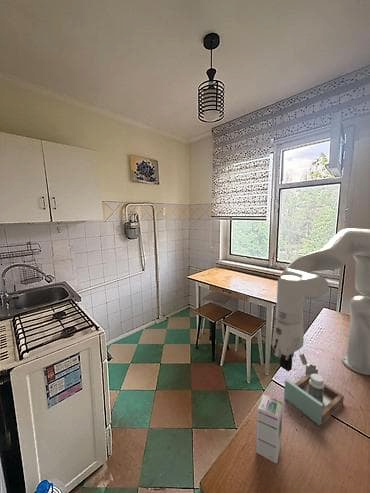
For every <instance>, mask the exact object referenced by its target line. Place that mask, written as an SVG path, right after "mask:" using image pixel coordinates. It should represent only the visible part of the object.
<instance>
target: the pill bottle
mask: <svg viewBox="0 0 370 493" xmlns="http://www.w3.org/2000/svg"><path fill="white" fill-rule="evenodd" d="M323 383H324V377H322V376H321V375H320V374H319V373H318V374H311V377H310V380H309V387H308V394H309V395H311V396H312V397H314V398H315V399H316V400H318V401H319V402H321V403H322V402H323V394H324V384H325V383H324V384H323Z"/></svg>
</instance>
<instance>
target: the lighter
mask: <svg viewBox="0 0 370 493" xmlns="http://www.w3.org/2000/svg"><path fill="white" fill-rule="evenodd" d="M298 356H299V359H300V362H301V363H302V365H304V366H305V376H306V375H308V374H309V375H311V374H318V375H319V367H318V366H317V365H316V364H315V363H312V362H309V363H308V361H307V359H306V356H305V353H303V352H302V353H299V354H298Z"/></svg>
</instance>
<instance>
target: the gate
mask: <svg viewBox="0 0 370 493" xmlns="http://www.w3.org/2000/svg"><path fill="white" fill-rule="evenodd" d="M283 394H284V395H283V398H284V399H286V400H287V401H288V402H289V403H290V404H291V405H293V406H294V407H295V408H296V409H298V410H300V411H301V413H303V414H304V415H306V416H307V417H308V418H309V419H311V420H312V421H313V422H314V423H315V424H316V425H318V426H321V425H322V424H323V423H322V413H323V404H322V403H321V402H319V401H318V400H316V399H315V398H314V397H312V396H311V395H309V394H308V393H306V392H305V391H304V390H302V389H301V388H299V387H298V386H297V385H295V383H294V382H292V381H291V380H289V379H288V378H287V379H285V380H284V392H283ZM321 423H322V424H321Z"/></svg>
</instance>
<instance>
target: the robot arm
mask: <svg viewBox="0 0 370 493" xmlns="http://www.w3.org/2000/svg"><path fill="white" fill-rule="evenodd" d="M352 257H353V258H354V261H355V275H354V276H355V279H354V287H355V291H357V292H358V293H359V294H361V295H355V296H353V297H352V298H351V299H350V301H349V314H350V324H349V333H348V342H347V349H346V350H347V351H346V354H344V355H342V357H341V362H342V363H343V365H344V366H346V368H348V369H350V370H351V371H352V372H355V373H357V374H360V375H363V376H369V375H370V228H351V227H349V228H343V229H341V230H339V231H338V232H337V233H336V234H335V235H334V236H333V237H332V238H331V239H330V240H329V241H328V242H327V243H326V244H325V245H324V246H323V247H322V248H321V249H319V250H315V251H313V252H309V253H307V254H305V255H301V256H299V257H297V258H295V259H294V260H293V261H291V262H290V263H289V264H288V265H287V266H286V267H285V268H284V269H283V271H282V273H281V274H280V276H279V277H278V279H277V289H276V305H275V306H276V307H275V308H276V310H275V322H274V326H273V327H274V328H273V333H272V334H273V335H272V348H273V349H274V350H275V352H274V356H275V357H277V358H279V367H281V368H282V369H283V370H285V371H286V372H290V371H291V370H293V358H294V356H295V352H298V351H299V350H301V349H302V348H303V346H304V341H305V340H304V336H305V328H304V327H305V326H304V320H303V319H304V305H305V304H304V303H305V300H318V299H321V298H323V297H325V296H326V295H327V294H328V291H329V288H330V285H329V282H328V281H327V279H326V278H325V277H323V276H321V275H319V274H315V273H312V272H318V271H319V272H320V271H332V270H339V269H342V268H343V267H344V266H345V265H346V264H348V262H349V261H350V260H351V259H352Z"/></svg>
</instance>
